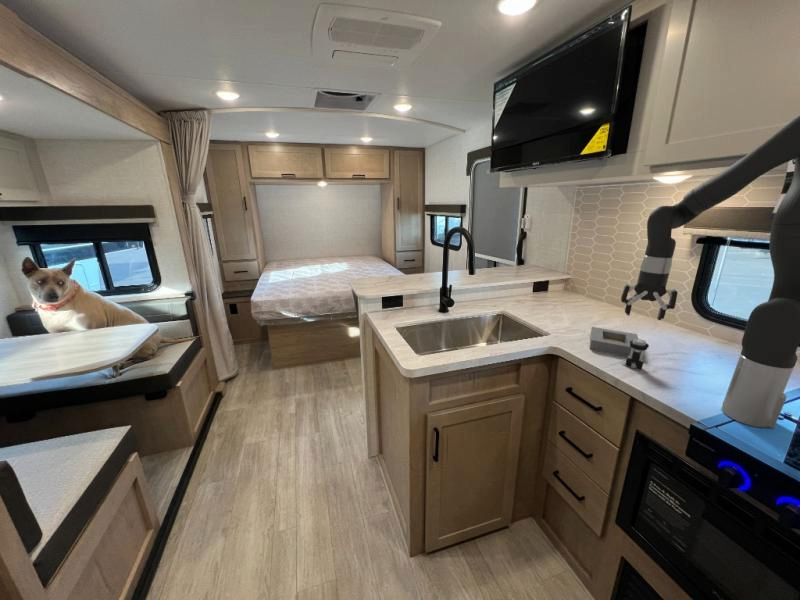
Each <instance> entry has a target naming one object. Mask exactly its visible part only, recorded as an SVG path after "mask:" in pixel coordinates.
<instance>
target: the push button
mask: <svg viewBox="0 0 800 600" xmlns="http://www.w3.org/2000/svg"><path fill="white" fill-rule="evenodd" d="M630 347H632V349H631V353H630V356H629V357H627V358H626V359H623V358H621V359H620V360H621V361H620V363H621V364H625V366H626V365H627V366H626V367H629V366H630V368H632V369H636V368H637V370H638V369H639V371H641V370H642V369H643V366H644V360H643V358H644V357H643V356H644V352H645V351H647V350H648V348H649V347H650V345H649V343H647V341H646V340H643V339H642V338H641V339H640V338H638V339H634V340H632V341H630ZM633 350H634V353H633ZM640 351H641V352H640ZM632 354H633V355H632Z"/></svg>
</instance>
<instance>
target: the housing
mask: <svg viewBox="0 0 800 600" xmlns="http://www.w3.org/2000/svg"><path fill="white" fill-rule="evenodd" d="M634 339H639V337H638V334H637V333H633V332H628V331H627V332H625V331H622V330H621V331H620V330H615V329H614V330H613V329H608V328H601V327H595V326H591V329H590V334H589V350H593V351H598V352H602V353H608V354H613V355H617V356H623V357H627V358H628V357H629V356H630V353H631V349H632V347H630V341H632V340H634ZM640 352H642V351H640ZM633 353H634V350H633ZM632 355H633V354H632Z"/></svg>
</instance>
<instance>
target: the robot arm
mask: <svg viewBox="0 0 800 600" xmlns="http://www.w3.org/2000/svg"><path fill="white" fill-rule="evenodd" d="M793 160H795V161H794V169H793V176H792V180H791V184H790V186H789V188H788V190H787V191H786V194H785V195H784V196H783V199H782V200H781V202H780V204H779V206H778V208H777V209H776V212H775V214H774V216H773V221H772V225H771V228H770V229H771V230H770V235H769V244H768V245H769V248H768V249H769V255H770V260H771V264H772V268H773V282H772V283H773V284H772V287H771V292H770V294H769V298H768V299H767V301H765V302H762V303H760V304H758V305H757V306H755V307H754V309H752V311H751V313H750V314H749V316H748V319H747V322H746V326H745V328H744V332H743V336H742V339H741V347H742V348H741V351H740V354H739V357H738V360H737V363H736V364H735V365H736V366H735V369H734V371H733V374H732V377H731V381H730V383H729V385H728V388H727V391H726V394H725V397H724V399H723V402H722V405H721V408H720V409H721V411H722V413H723V414H725V415H726V416H727V417H729V418H730V419H733V420H734V421H737V422H739V423H742V424H745V425H747V426H751V427H756V428H771V429H775V426H776V424H777V422H778V419H779V417H780V414H781V412H782V410H783V407H784V405H785V403H786V401H787V398H788V396H787V395H786V394H785V393H784V392H785V390H786V387H787V385H788V383H789V380H790V378H791V375H792V373H793V370H794V368H795V366H796V364H797V362H798V355H797V350H798V348H799V345H800V115H797V117H796V118H794V119H793V120H791V121H790V122H789V123H787V124H786V125H784V126H783V127H782V128H780V129H779V130H778V131H777V132H776V133H774V134H773V135H772V136H770V137H768V139H767V140H765V141H764V142H762V143H761V144H760V145H758V146H757V147H756V148H754V149H753V150H752V151H751V152H749V153H748V154H746V155H745V156H743V157H742V158H740V159H739V160H737V161H735V163H732V164H731V165H730V166H728V167H727V168H725V169H724V170H722V171H720V172H719V173H717V174H715V175H714V176H712V177H710V178H709V179H707V180H706V181H704V182H702V183H700V184H699V185H697V186H696V187H694V188H693V189H690V190H689V191H688V192H687V193H686V194H685V195H684V196H683V199H682V200H681V201H679V202H678V203H677V202H676V203H675V204H674V205H662V206H658V207H655V208H654V209H653V210H652V211H651V212H650V214H649V216H648V218H647V224H646V231H647V232H646V235H647V245H646V249H645V253H644V256H643V259H642V261H641V264H640V269H639V274H638V277H637V278H638V279H637V281H636V284H635V285H631V284H630V285H629V284H628V283H626V284H625V285H624V287H623V290H622V294H621V298H620V301H621V303H624V304H625V307H624V313H625V314H626V316H630V314H631V311H632V307H633V306H632V304H634V303H635V302H637V301H639V300H642V301H649V302H656V301H657V302H658V304H659V306H660V307H659V310H658V312H657V313H658V314H657V317H656V319H657V320H658V321H662V320H663V319H664V318H665V316H666V312H667V310H674V309H676V308H675V307H676V303H677V299H678V291H677V290H676V289H675V288H672V289H666V288H667V285H668V280H669V276H670V272H671V269H672V263H673V257H674V254H675V249H676V243H677V242H676V239H674V238H673V237H672V230H674V229H679V228H681V227H683V226H685V225H687V224H689V223H690V222H691V221H693V220H694V219H696V218H697V217H698V216H700V215H701V214H703V212H706V211H708V210H709V209H712V208H714V207H715V206H717V205H719V204H721V203H723V202H724V201H726V200H728V199H730V198H732V197H733V196H734V195H736V194H738V193H739V192H741V191H742V190H743V189H745V188H746V187H748V186H749V185H750V184H751V183H753V182H754V181H755V180H756V179H758V178H759V177H761V176H763V175H764V174H766V173H768V172H770V171H772V170H773V169H775V168H777V167H779V166H781V165H784V164H786V163H788V162H790V161H793ZM633 290H634V292H635V294H633V295H632V296H631V297H629V298H627V297H628V294H629V293H631V292H632V291H633ZM666 294H667V296H668V297H669V299H668V300H669V301H668V304H665V302H664V301H663V299H662V297H663V296H665V295H666Z"/></svg>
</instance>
